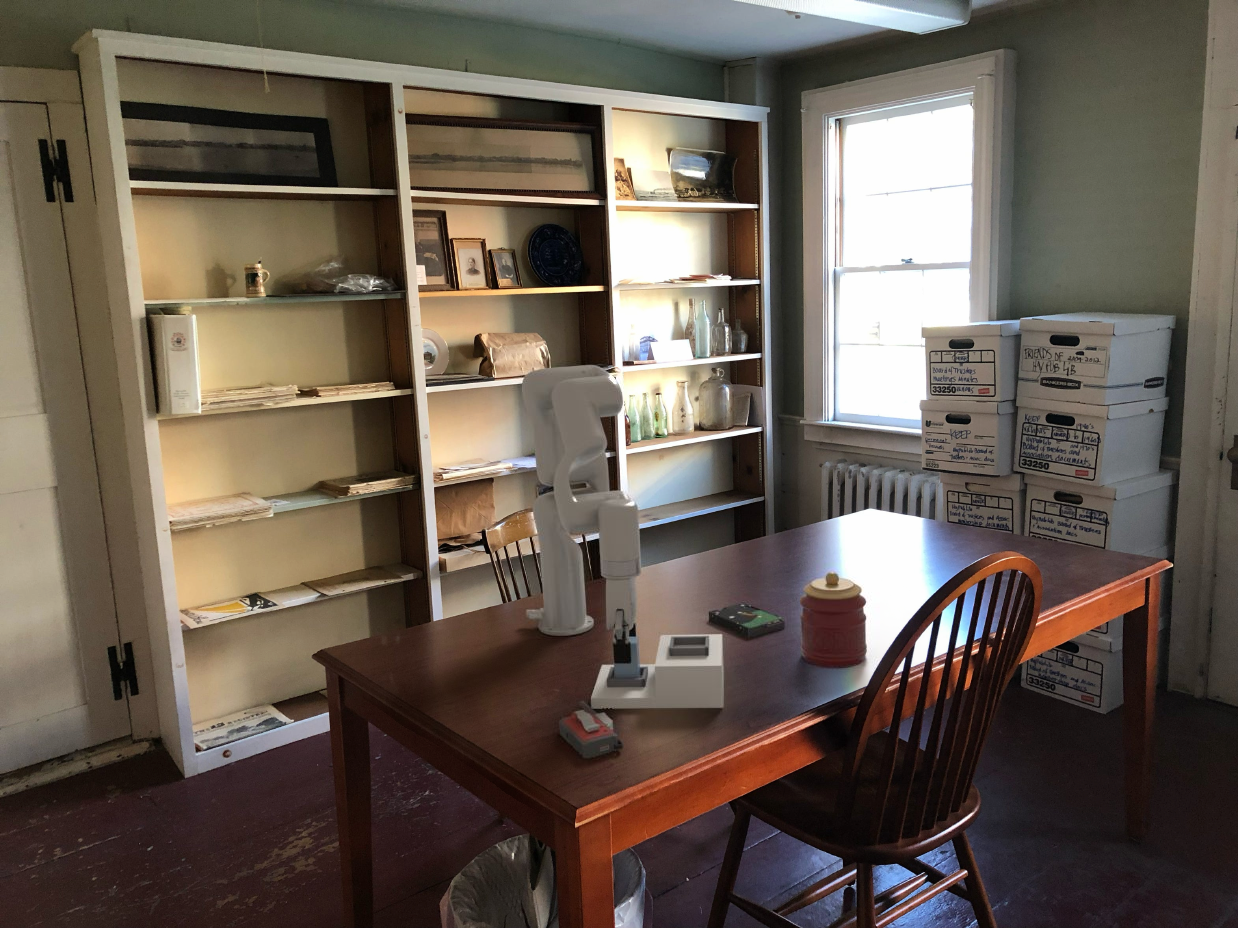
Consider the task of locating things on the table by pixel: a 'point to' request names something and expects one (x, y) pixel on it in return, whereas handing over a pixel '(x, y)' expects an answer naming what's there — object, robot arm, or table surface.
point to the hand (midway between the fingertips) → (625, 652)
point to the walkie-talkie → (589, 732)
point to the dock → (669, 677)
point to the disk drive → (746, 620)
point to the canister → (833, 622)
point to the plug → (632, 668)
